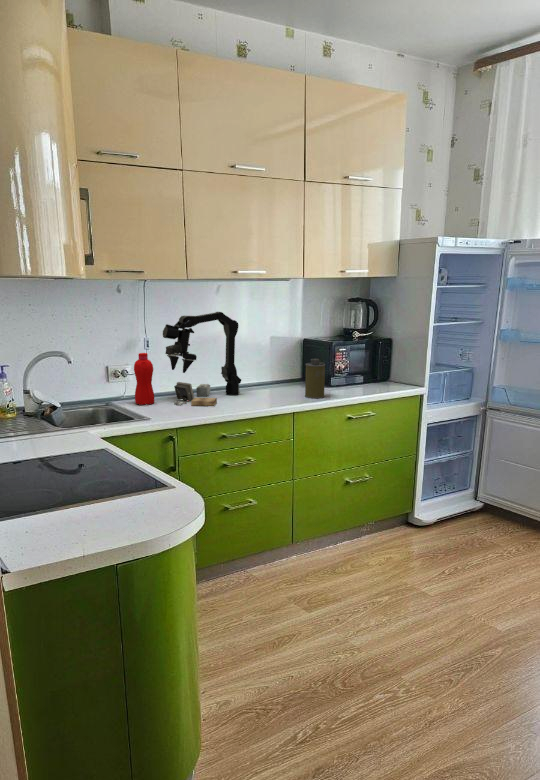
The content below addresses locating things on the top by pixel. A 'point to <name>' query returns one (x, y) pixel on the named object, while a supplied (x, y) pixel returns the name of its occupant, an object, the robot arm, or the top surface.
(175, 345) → the robot arm
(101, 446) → the top surface
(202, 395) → the housing
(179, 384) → the electrical switch
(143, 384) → the water bottle
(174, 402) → the bolt
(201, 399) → the stand
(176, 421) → the top surface
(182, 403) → the bolt
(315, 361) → the canister
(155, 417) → the top surface
